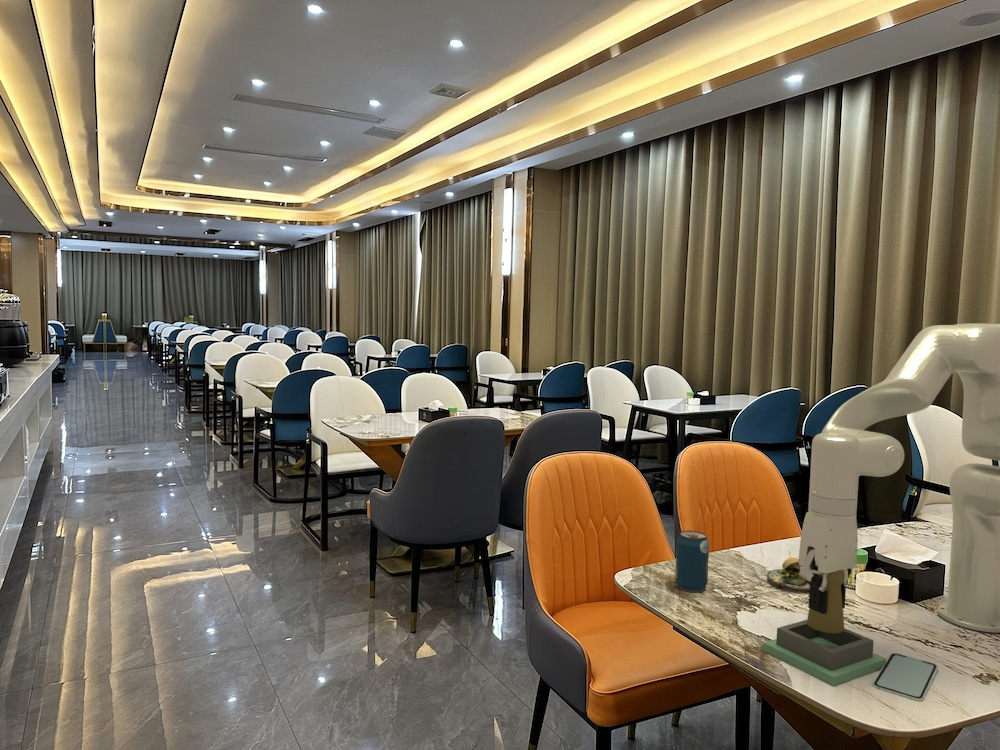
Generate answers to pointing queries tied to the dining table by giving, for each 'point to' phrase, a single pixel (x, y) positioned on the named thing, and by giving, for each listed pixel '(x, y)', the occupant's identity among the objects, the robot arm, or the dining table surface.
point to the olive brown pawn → (830, 606)
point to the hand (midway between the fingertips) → (826, 607)
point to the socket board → (825, 652)
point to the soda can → (692, 561)
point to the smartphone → (906, 676)
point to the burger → (788, 575)
